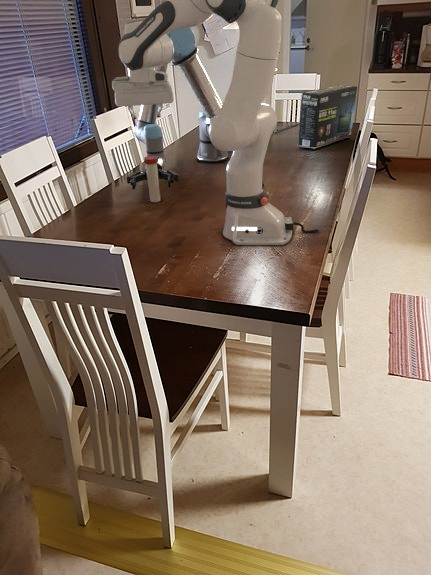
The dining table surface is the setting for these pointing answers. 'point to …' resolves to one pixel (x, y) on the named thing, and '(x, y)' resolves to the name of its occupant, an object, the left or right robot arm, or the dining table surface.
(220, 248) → the dining table surface
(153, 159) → the lid
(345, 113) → the router box
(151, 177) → the white cylinder
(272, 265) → the dining table surface
